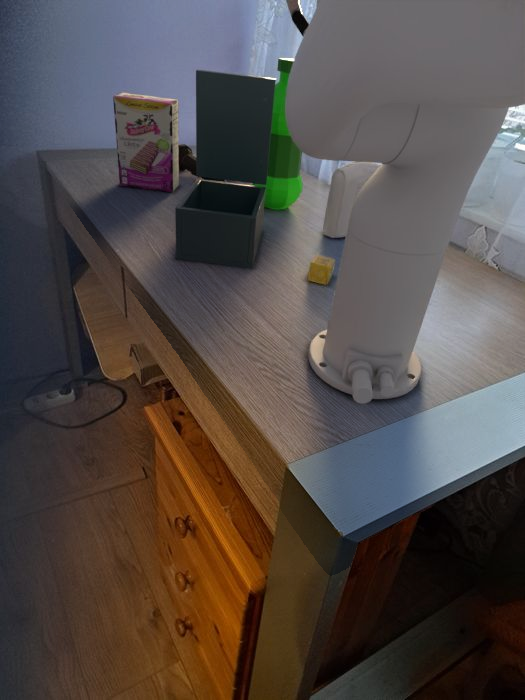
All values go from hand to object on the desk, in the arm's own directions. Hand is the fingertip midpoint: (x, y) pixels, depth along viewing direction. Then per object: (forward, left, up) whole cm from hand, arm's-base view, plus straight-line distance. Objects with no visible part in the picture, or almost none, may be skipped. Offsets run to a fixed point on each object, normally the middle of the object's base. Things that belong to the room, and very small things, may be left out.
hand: (349, 85), depth 57 cm
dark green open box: (+8, +16, -25) cm, 31 cm away
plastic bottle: (+29, +9, -26) cm, 40 cm away
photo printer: (+20, -5, -26) cm, 33 cm away
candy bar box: (+31, +35, -26) cm, 53 cm away
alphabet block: (-1, 0, -26) cm, 26 cm away
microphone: (+40, +27, -26) cm, 55 cm away
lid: (+14, +16, -9) cm, 23 cm away
